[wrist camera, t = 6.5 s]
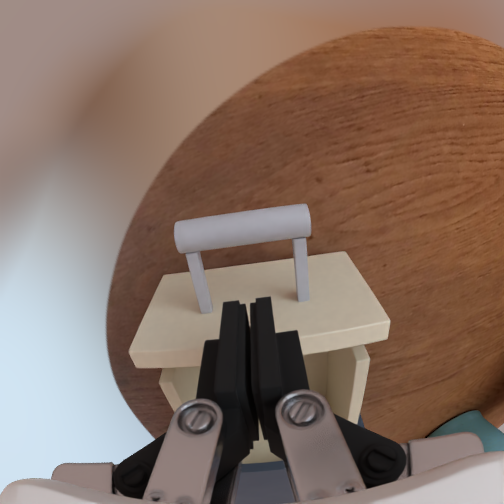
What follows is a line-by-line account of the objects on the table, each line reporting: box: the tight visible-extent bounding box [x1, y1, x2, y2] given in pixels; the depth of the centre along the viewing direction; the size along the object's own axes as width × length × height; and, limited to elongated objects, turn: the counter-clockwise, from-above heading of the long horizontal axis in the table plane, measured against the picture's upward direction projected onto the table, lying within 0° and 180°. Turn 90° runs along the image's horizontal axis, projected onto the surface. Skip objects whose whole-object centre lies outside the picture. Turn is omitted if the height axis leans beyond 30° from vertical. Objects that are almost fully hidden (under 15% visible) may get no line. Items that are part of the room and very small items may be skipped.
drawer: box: [129, 204, 390, 464], centre depth 18 cm, size 20×12×8 cm, turn 8°
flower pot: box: [428, 410, 504, 453], centre depth 27 cm, size 18×18×17 cm
